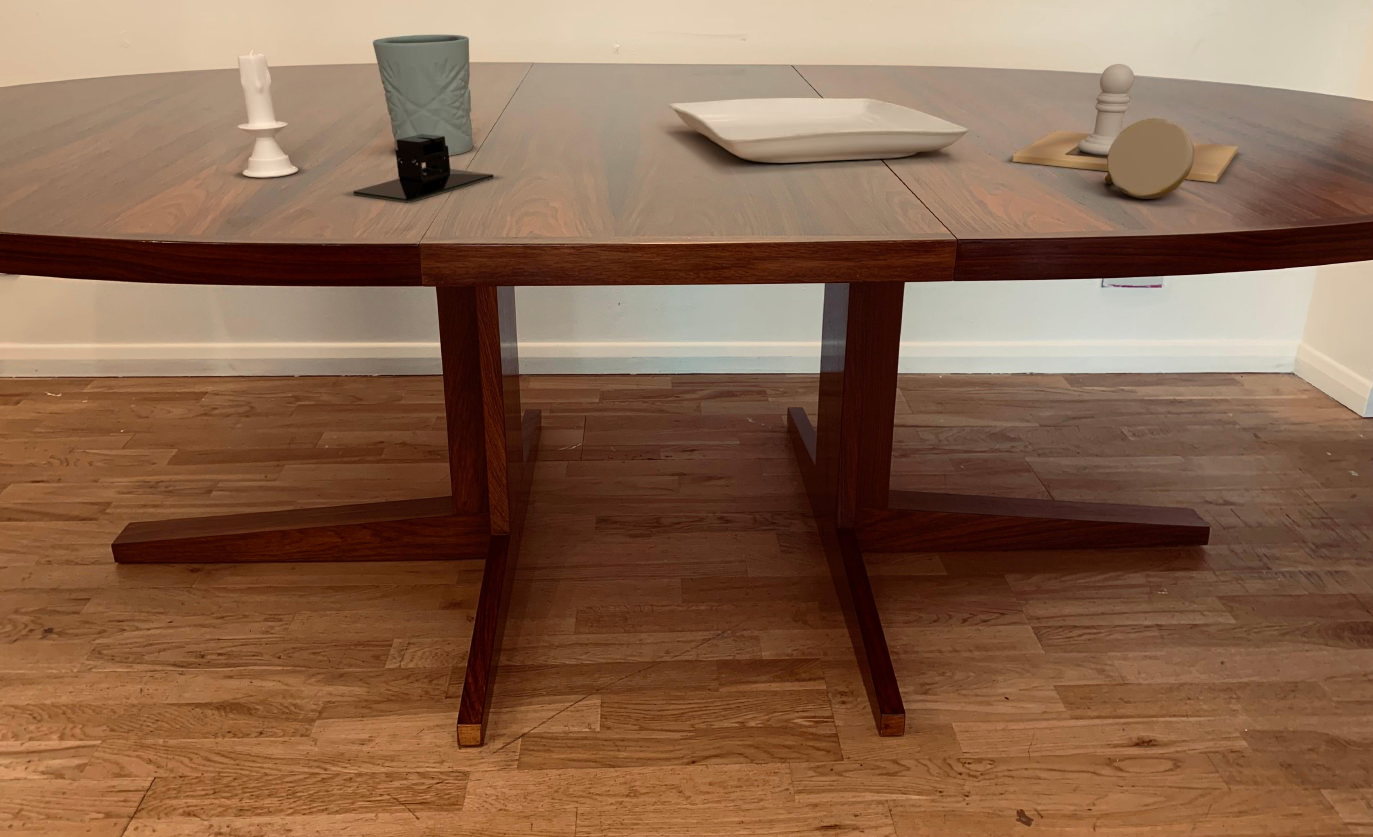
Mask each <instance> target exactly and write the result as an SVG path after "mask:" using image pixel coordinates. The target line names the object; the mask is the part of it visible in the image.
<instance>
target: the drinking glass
mask: <svg viewBox="0 0 1373 837" xmlns="http://www.w3.org/2000/svg"><path fill="white" fill-rule="evenodd" d="M372 46H373V49H374V54H375V58H376V62H377V65H378V71H379V74H380V81H381V83H382V86H383V90H384V98H385V104H386V109H387V112H388V115H389V116H390V117H389V118H390V124H391V132H392V135H393V140H394V146H395V150H398V148H397V139H402V138H406V137H411V136H415V135H420V134H427V135H437V136H445V143H446V145H447V146H448V152H449V157H450V156H454V155H455V156H456V155H461V154H464V153H468V152H470V151H472V150H473V146H474V145H473V143H474V142H473V126H472V119H471V112H472V103H471V102H472V101H471V99H472V97H471V89H470V87H469V85H470V74H471V73H470V72H471V70H470V38H469V37H468V36H465V35H460V34H413V35H401V36H400V35H399V36H390V37H383V38H377V39H374V40H373V41H372Z"/></svg>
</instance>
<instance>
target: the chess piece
mask: <svg viewBox="0 0 1373 837" xmlns="http://www.w3.org/2000/svg"><path fill="white" fill-rule="evenodd" d="M1134 74H1135V73H1134V72H1133V70H1132V68H1131V67H1129V65H1126V64H1123V63H1115V64H1111V65H1109V66H1108V67H1106V68H1105V69H1104V70H1103V71H1102V73H1101V76H1100V79H1099V86H1100V89H1101V92H1100V94H1098V95H1097V96H1096V99H1095V100H1096V101H1097V103H1096V104H1095V105H1094V108H1095V110H1097V113H1096V117H1095V124H1094V129H1093V132H1092V133H1090V134H1091V135H1090V136H1087V137H1086V138H1085V139H1084V140H1081V141H1080V142H1079V144H1078V148H1079V150H1080V151H1082V152H1085V153H1089V154H1095V155H1108V153H1109V150H1110V147H1111V145H1112V143H1113V141H1114V140H1115V139H1116V137H1117V136H1118V135H1119V134H1120V133H1121V132H1122V128H1123V122H1124V117H1125V112H1127V111H1128V110H1129V108H1130V107H1129V105H1128V103H1129V102H1130V101H1131V97H1130V96H1129V91H1130V90H1131V89H1132V87H1133V84H1134V82H1135V75H1134Z"/></svg>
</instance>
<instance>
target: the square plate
mask: <svg viewBox="0 0 1373 837" xmlns="http://www.w3.org/2000/svg"><path fill="white" fill-rule="evenodd" d="M668 107H669V109H671V110H673V111H674V112H675V114H677V116H678V117H679V118H680V119H681V121H682V122H683V123H684V124H686V125H687V126H689V127H690V128H691V129H693V130H694V131H696V132H698V133H700V134H701V135H703V136H705V137H707V138H708V139H709V140H710V141H711V142H713V143H715V144H716V145H718V146H720V147H721V148H723V149H724V150H727V151H728V153H731V154H733V155H735V156H736V157H738V158H740V159H741V160H742V159H743V160H747V161H751V162H758V163H773V164H775V163H776V164H787V163H789V164H790V163H809V162H825V161H826V162H827V161H850V160H851V161H853V160H875V159H897V158H904V157H905V158H906V157H911V156H914V155H916V154H917V153H920V152H921V153H922V152H929V151H932V152H933V151H937V150H942V149H945V148H947V147H950V146H952V145H953V144H954V143H956V142H958V141H959V140H961V138H962V137H963V136H965V135H966V134H967V133H969V130H970V129H969V128H968V127H964V126H961V125H959V124H955V123H953V122H950V121H948V120H945V119H943V118H940V117H937V116H935V115H931V114H929V113H926V112H923V111H920V110H917V109H913V108H910V107H907V106H904V105H900V104H896V103H891V102H889V101H888V102H887V101H884V100H879V99H875V98H869V97H868V98H867V97H861V98H856V97H855V98H838V97H837V98H835V97H833V98H828V97H827V98H826V97H825V98H824V97H759V98H757V97H756V98H737V99H736V98H735V99H720V100H709V101H708V100H706V101H694V102H692V101H691V102H675V103H669V105H668Z"/></svg>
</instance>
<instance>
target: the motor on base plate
mask: <svg viewBox="0 0 1373 837" xmlns="http://www.w3.org/2000/svg"><path fill="white" fill-rule="evenodd" d="M397 148H398V150H396V149H395V159H396V166H397V175H398V178H396V179H393V180H388V181H384V182H381V183H377V184H373V185H370V186H367V187H362V188H359V189H355V190H353V192H352V193H353V195H354V196H360V197H367V198H375V199H381V200H388V201H394V202H400V203H401V202H403V203H412V202H416V201H420V200H423V199H427V198H430V197H433V196H437V195H440V194H444V193H447V192H450V191H454V190H457V189H460V188H464V187H468V186H471V185H474V184H478V183H480V182H484V181H487V180H491V179H494V177H495V175H494V173H487V172H477V171H469V170H462V169H460V170H459V169H454V168H451V162H450V156H449V152H448V146H447V145H446V143H445V136H437V135H427V134H420V135H415V136H411V137H406V138H402V139H397ZM423 164H425V167H423Z"/></svg>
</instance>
